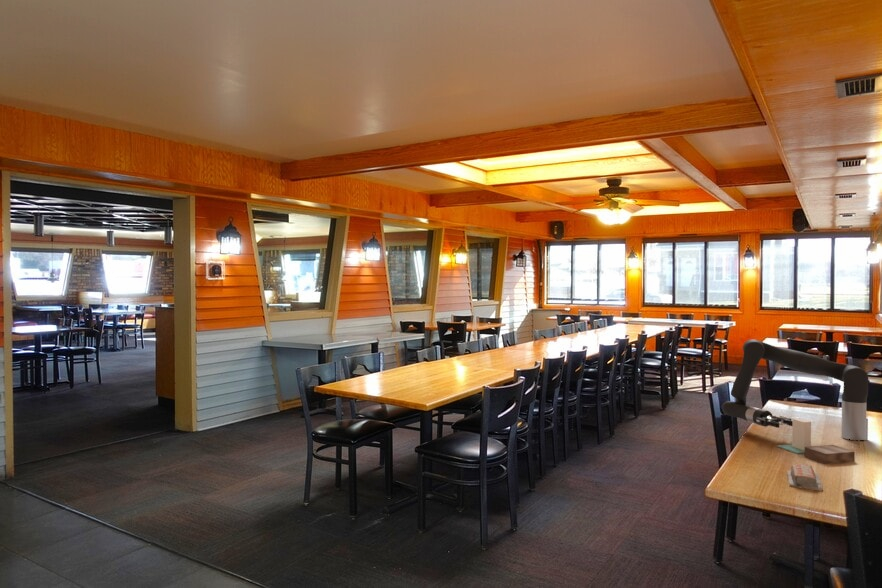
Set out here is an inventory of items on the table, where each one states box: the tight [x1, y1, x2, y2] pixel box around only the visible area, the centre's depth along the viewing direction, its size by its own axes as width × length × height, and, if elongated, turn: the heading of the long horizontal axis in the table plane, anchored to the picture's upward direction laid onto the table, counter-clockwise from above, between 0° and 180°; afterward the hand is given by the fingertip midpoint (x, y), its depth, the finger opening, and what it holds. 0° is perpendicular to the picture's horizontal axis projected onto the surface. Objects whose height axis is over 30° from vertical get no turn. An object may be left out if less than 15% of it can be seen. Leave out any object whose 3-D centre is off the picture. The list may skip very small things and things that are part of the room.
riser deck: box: [804, 444, 856, 465], centre depth 234 cm, size 14×10×4 cm
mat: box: [776, 443, 805, 455], centre depth 247 cm, size 14×11×1 cm
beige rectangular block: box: [791, 418, 812, 450], centre depth 247 cm, size 4×6×12 cm, turn 14°
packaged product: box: [786, 463, 824, 492], centre depth 208 cm, size 18×5×10 cm
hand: (786, 424), depth 254 cm, fingers open, 8 cm apart
